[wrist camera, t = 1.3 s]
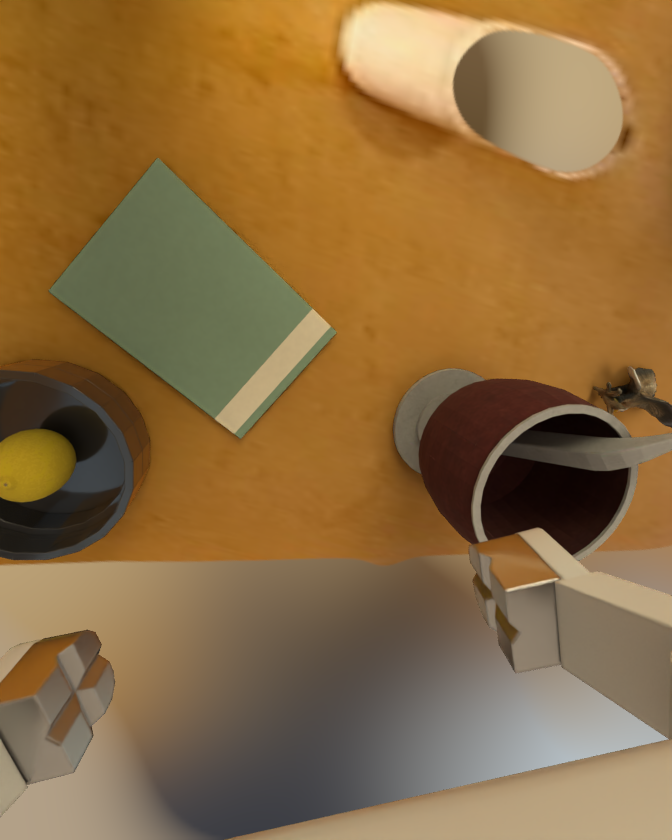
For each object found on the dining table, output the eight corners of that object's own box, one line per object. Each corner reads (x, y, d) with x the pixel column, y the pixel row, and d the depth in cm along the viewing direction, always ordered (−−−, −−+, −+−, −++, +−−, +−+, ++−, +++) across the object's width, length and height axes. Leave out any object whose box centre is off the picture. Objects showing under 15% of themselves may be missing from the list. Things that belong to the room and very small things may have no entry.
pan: (-84, 457, 35) (-150, 487, 29) (28, 320, 34) (-17, 323, 28) (83, 551, 40) (55, 592, 34) (186, 435, 39) (174, 457, 33)
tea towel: (50, 291, 33) (47, 291, 33) (159, 159, 32) (157, 157, 32) (240, 437, 40) (240, 439, 39) (336, 331, 39) (337, 332, 38)
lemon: (87, 479, 38) (45, 523, 30) (19, 470, 36) (-42, 514, 29) (93, 423, 36) (51, 455, 29) (23, 412, 35) (-40, 442, 28)
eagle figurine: (588, 438, 47) (665, 440, 47) (633, 420, 40) (722, 422, 40) (578, 377, 49) (651, 380, 49) (619, 350, 42) (704, 353, 42)
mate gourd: (428, 505, 46) (546, 644, 28) (360, 415, 42) (448, 508, 23) (535, 423, 46) (729, 506, 27) (480, 323, 41) (668, 341, 23)
